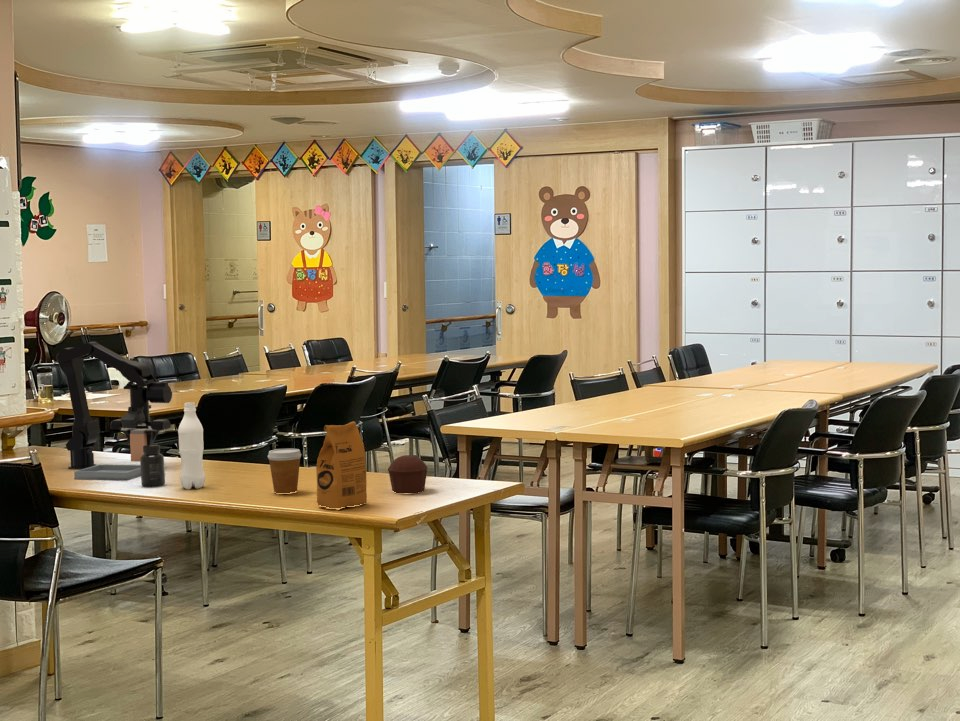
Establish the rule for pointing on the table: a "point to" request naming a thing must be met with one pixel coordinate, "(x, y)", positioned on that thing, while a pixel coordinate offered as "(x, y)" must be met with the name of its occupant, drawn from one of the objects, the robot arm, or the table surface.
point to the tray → (109, 472)
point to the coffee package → (341, 467)
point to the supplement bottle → (152, 467)
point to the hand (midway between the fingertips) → (141, 451)
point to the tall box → (137, 443)
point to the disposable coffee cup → (284, 469)
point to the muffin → (407, 474)
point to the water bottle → (191, 448)
